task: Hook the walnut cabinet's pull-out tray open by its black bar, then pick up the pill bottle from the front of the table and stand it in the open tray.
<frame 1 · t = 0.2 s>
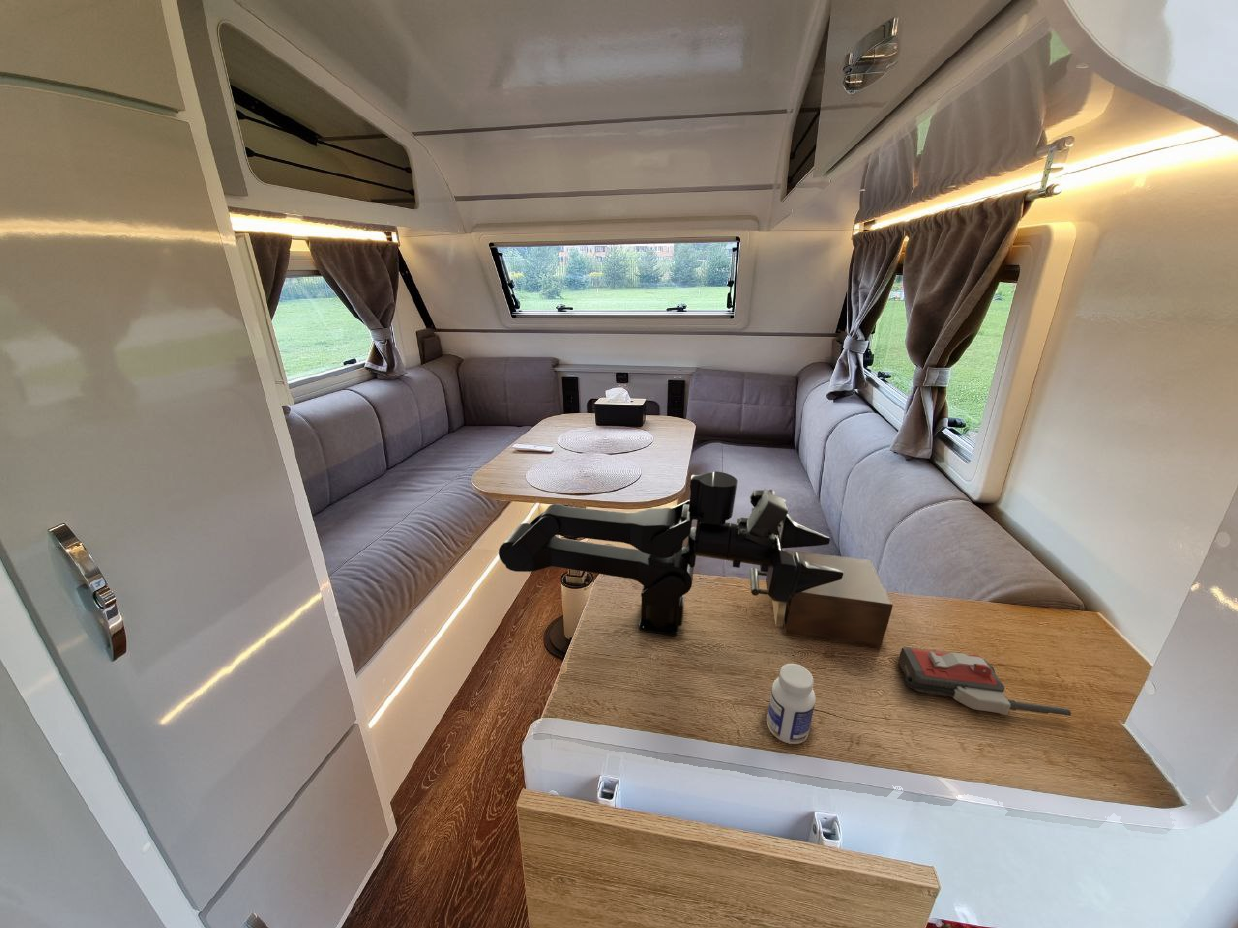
hand: (835, 557, 70), 17 cm above the table, tool horizontal, fingers open, 9 cm apart
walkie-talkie: (972, 690, 68), on the table
cabinet: (825, 615, 83), on the table
pill bottle: (786, 727, 62), on the table
drawer: (802, 591, 82), point 4 cm above the table, slide at 0.5 cm
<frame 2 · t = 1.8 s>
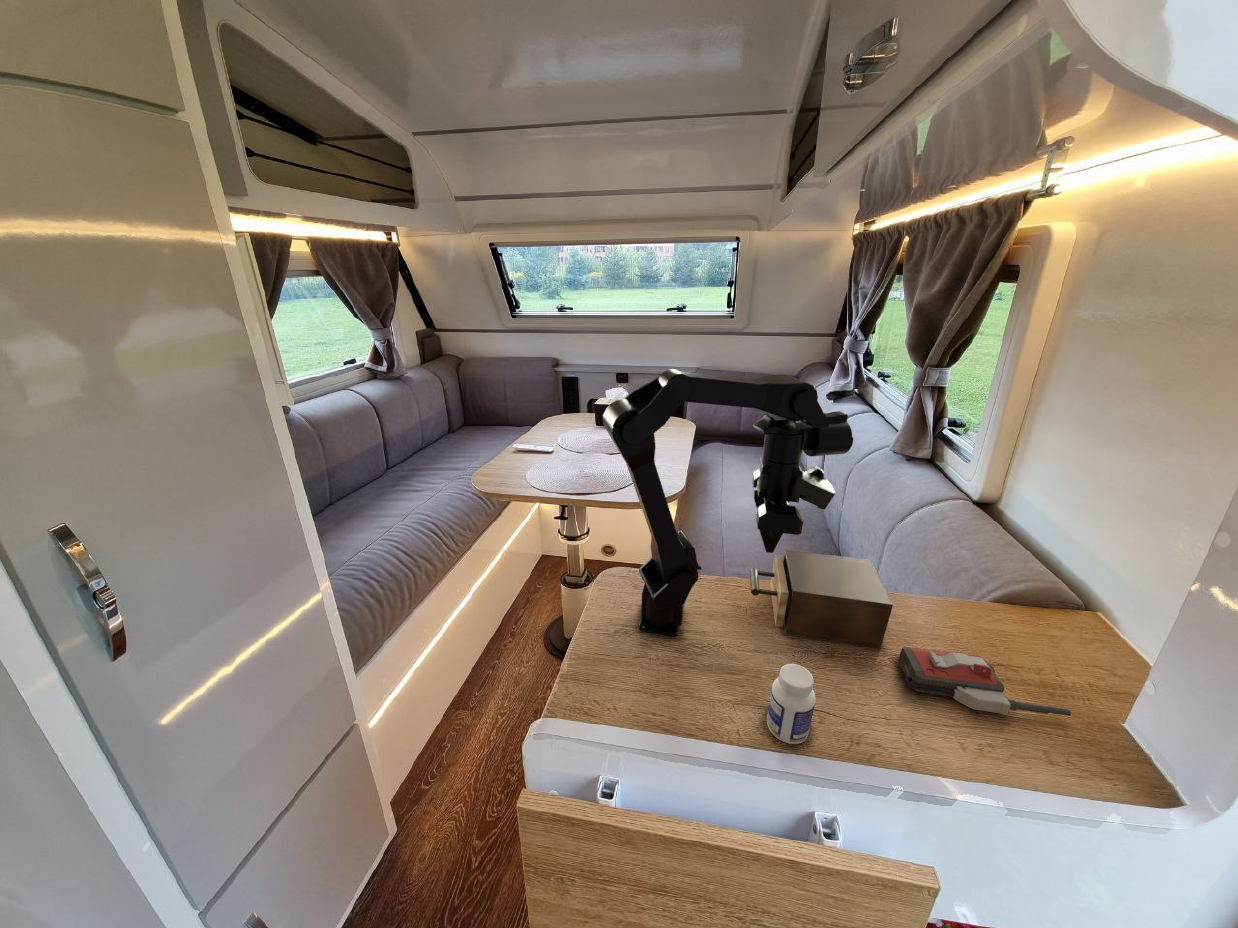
hand: (768, 543, 80), 13 cm above the table, tool pointing down, fingers open, 5 cm apart
nothing on the table moved.
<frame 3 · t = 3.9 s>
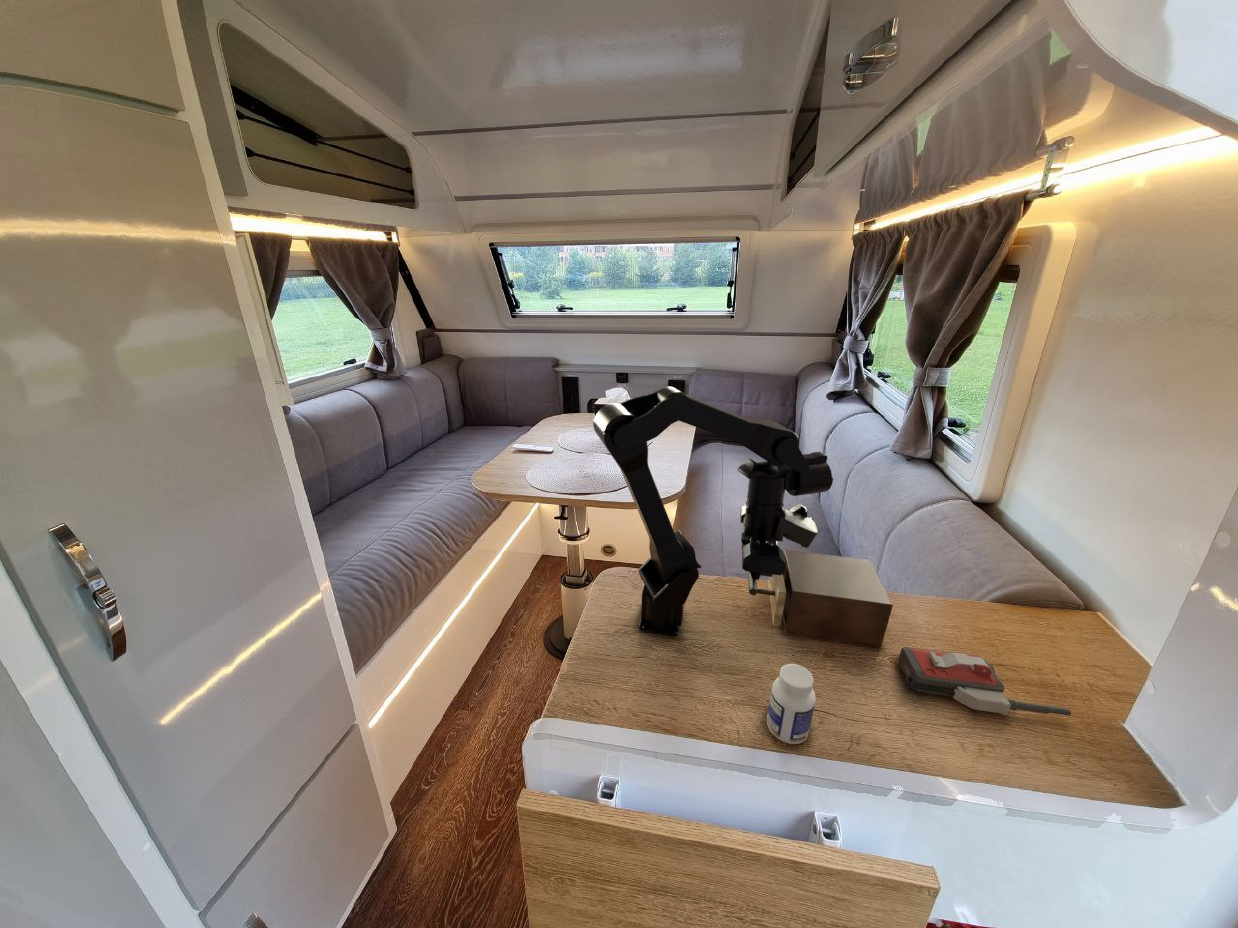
hand: (755, 578, 83), 6 cm above the table, tool pointing down, fingers closed, pressing on drawer
drawer: (800, 591, 82), point 4 cm above the table, slide at 0.9 cm, touching gripper
everything else where it was.
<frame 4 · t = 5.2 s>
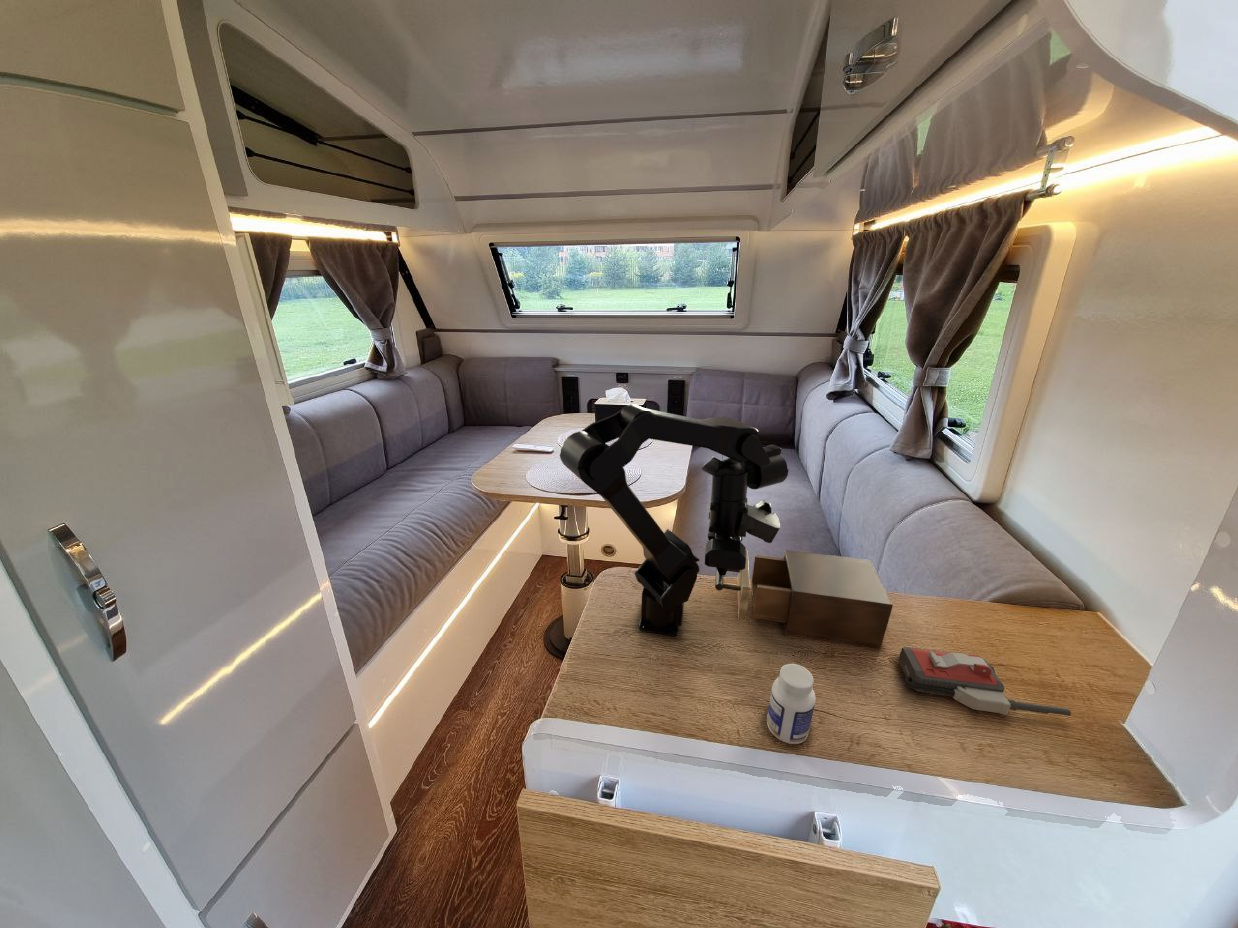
hand: (722, 573, 84), 6 cm above the table, tool pointing down, fingers closed, pressing on drawer
drawer: (766, 587, 83), point 4 cm above the table, slide at 6.5 cm, touching gripper
everything else where it was.
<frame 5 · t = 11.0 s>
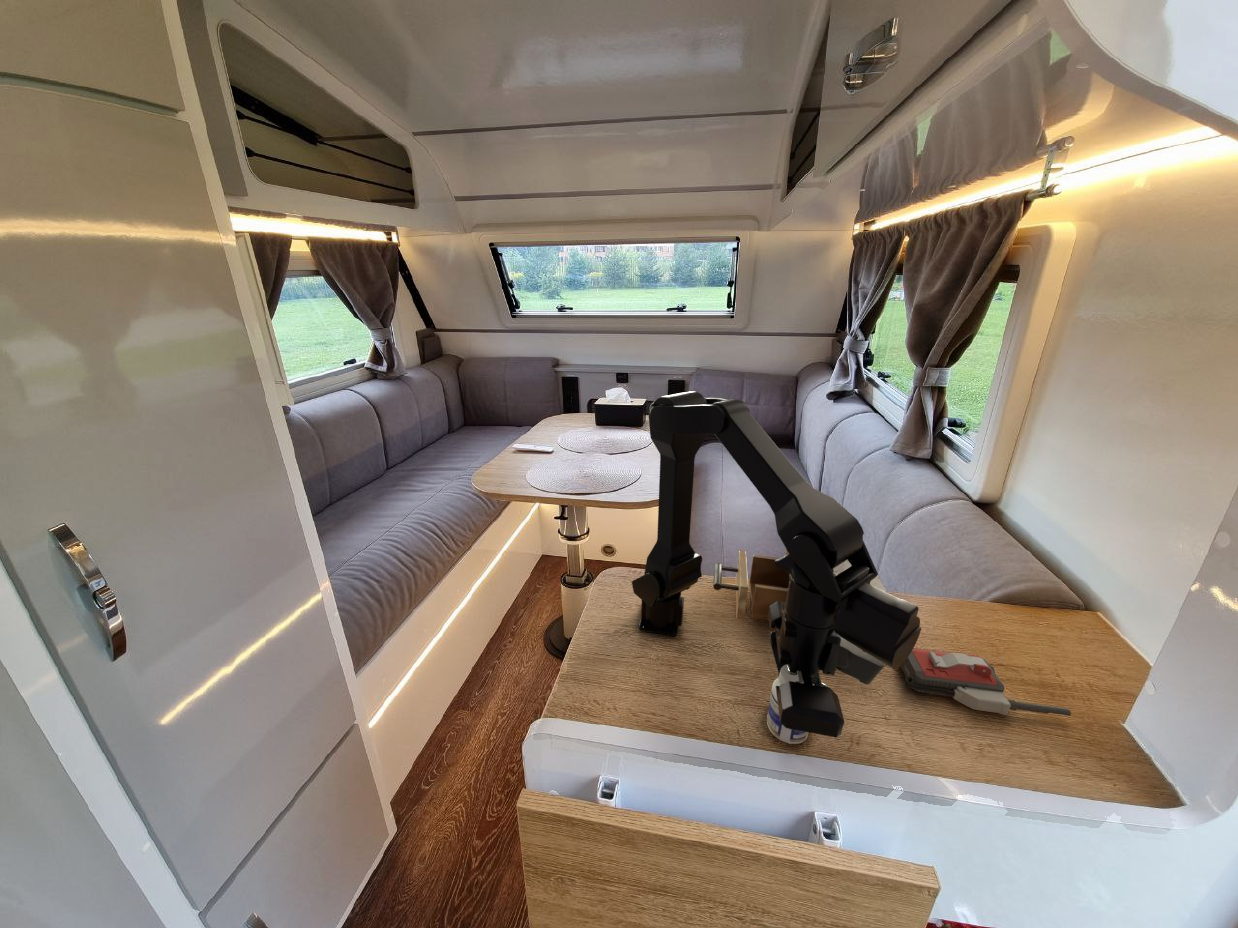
hand: (790, 710, 61), 3 cm above the table, tool pointing down, fingers closed on pill bottle, 5 cm apart
pill bottle: (786, 727, 62), on the table, touching gripper
drawer: (764, 586, 83), point 4 cm above the table, slide at 6.9 cm
everything else where it was.
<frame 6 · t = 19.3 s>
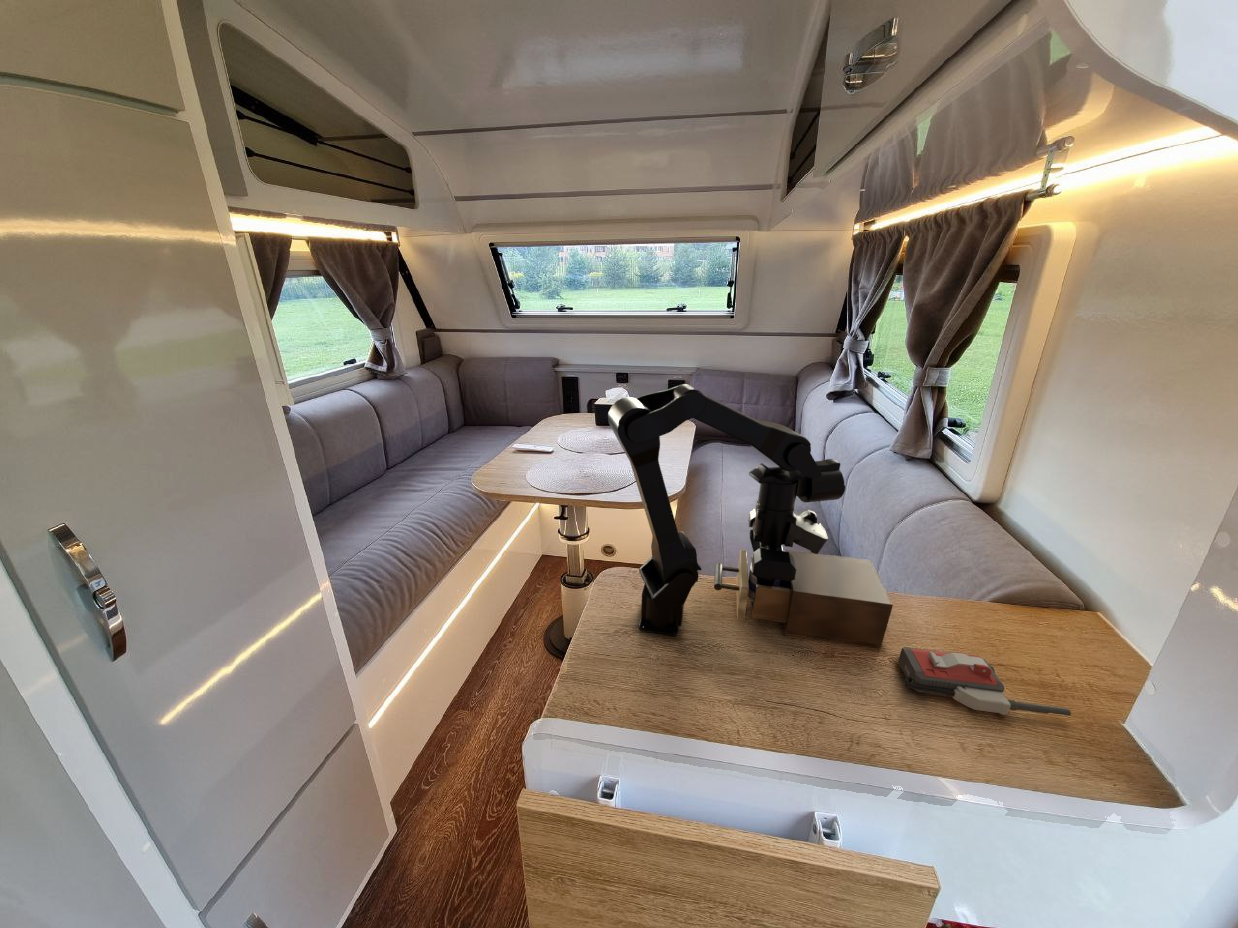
hand: (763, 583, 83), 5 cm above the table, tool pointing down, fingers closed on pill bottle, 5 cm apart
pill bottle: (761, 598, 84), point 2 cm above the table, touching gripper
drawer: (765, 586, 83), point 4 cm above the table, slide at 6.7 cm, touching gripper
everything else where it was.
when the fingers open (7 cm above the table, at t = 22.9 s): pill bottle stays where it is, resting on drawer.
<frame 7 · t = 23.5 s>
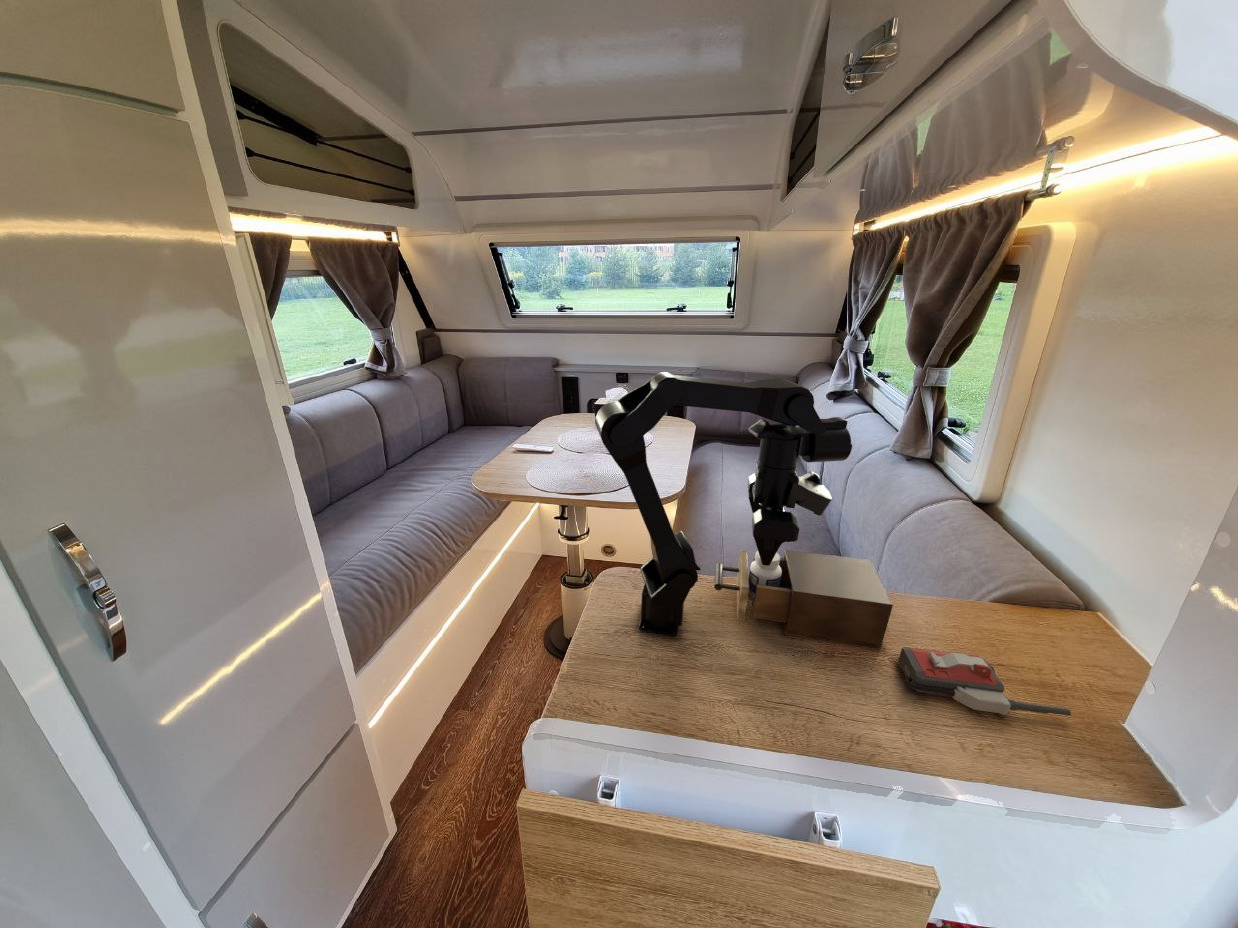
hand: (763, 549, 79), 13 cm above the table, tool pointing down, fingers open, 9 cm apart
pill bottle: (761, 598, 84), point 2 cm above the table, touching drawer
drawer: (765, 586, 83), point 4 cm above the table, slide at 6.7 cm, touching pill bottle
everything else where it was.
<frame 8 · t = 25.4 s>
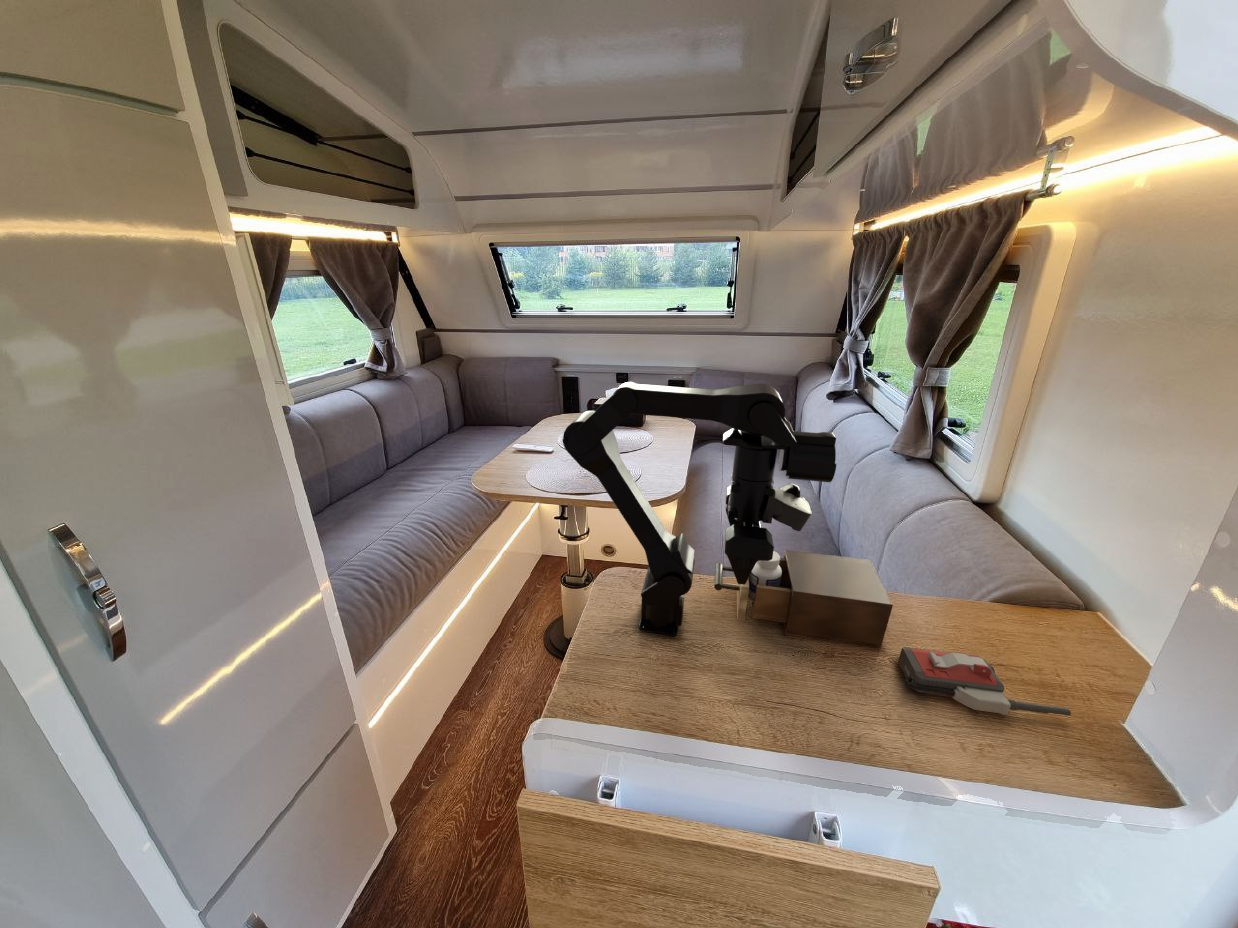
hand: (740, 566, 74), 13 cm above the table, tool pointing down, fingers open, 9 cm apart
nothing on the table moved.
at the end: drawer slide at 6.7 cm; pill bottle inside the target area in the drawer (0.1 cm from its centre), point 1.8 cm above the cabinet's base; pill bottle tilted 0° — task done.
